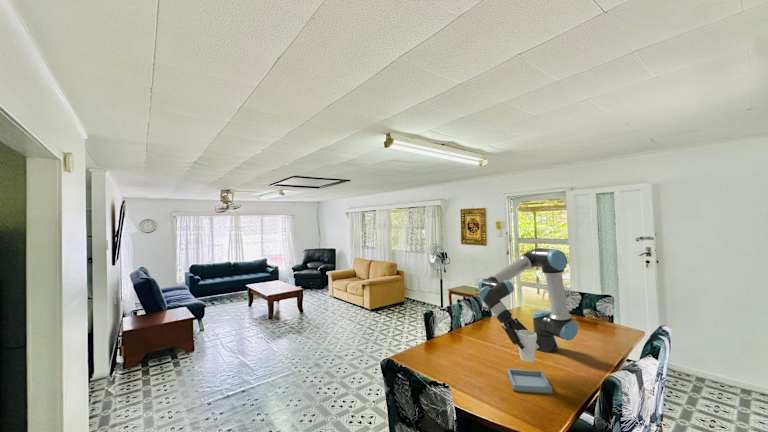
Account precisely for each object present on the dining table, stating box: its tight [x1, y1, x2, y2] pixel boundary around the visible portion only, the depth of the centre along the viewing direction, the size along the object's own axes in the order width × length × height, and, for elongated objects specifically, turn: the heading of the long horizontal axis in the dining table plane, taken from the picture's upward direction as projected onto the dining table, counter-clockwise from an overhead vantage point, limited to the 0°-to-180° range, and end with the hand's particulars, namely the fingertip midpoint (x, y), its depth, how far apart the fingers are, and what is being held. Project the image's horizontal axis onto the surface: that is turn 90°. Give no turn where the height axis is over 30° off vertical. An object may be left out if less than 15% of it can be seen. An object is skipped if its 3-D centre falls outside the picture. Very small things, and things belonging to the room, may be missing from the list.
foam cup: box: [515, 329, 537, 363], centre depth 155 cm, size 10×9×13 cm
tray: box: [506, 368, 554, 395], centre depth 155 cm, size 17×17×3 cm
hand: (533, 351), depth 153 cm, fingers closed on foam cup, 9 cm apart
